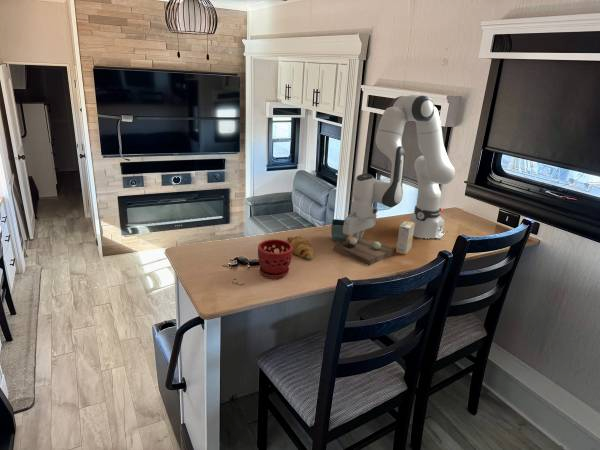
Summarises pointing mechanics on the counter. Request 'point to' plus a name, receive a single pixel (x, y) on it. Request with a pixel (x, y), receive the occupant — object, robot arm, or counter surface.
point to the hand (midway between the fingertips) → (358, 239)
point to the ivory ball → (353, 240)
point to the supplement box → (405, 237)
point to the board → (363, 251)
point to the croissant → (301, 247)
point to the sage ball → (377, 245)
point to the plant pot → (274, 258)
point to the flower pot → (338, 230)
